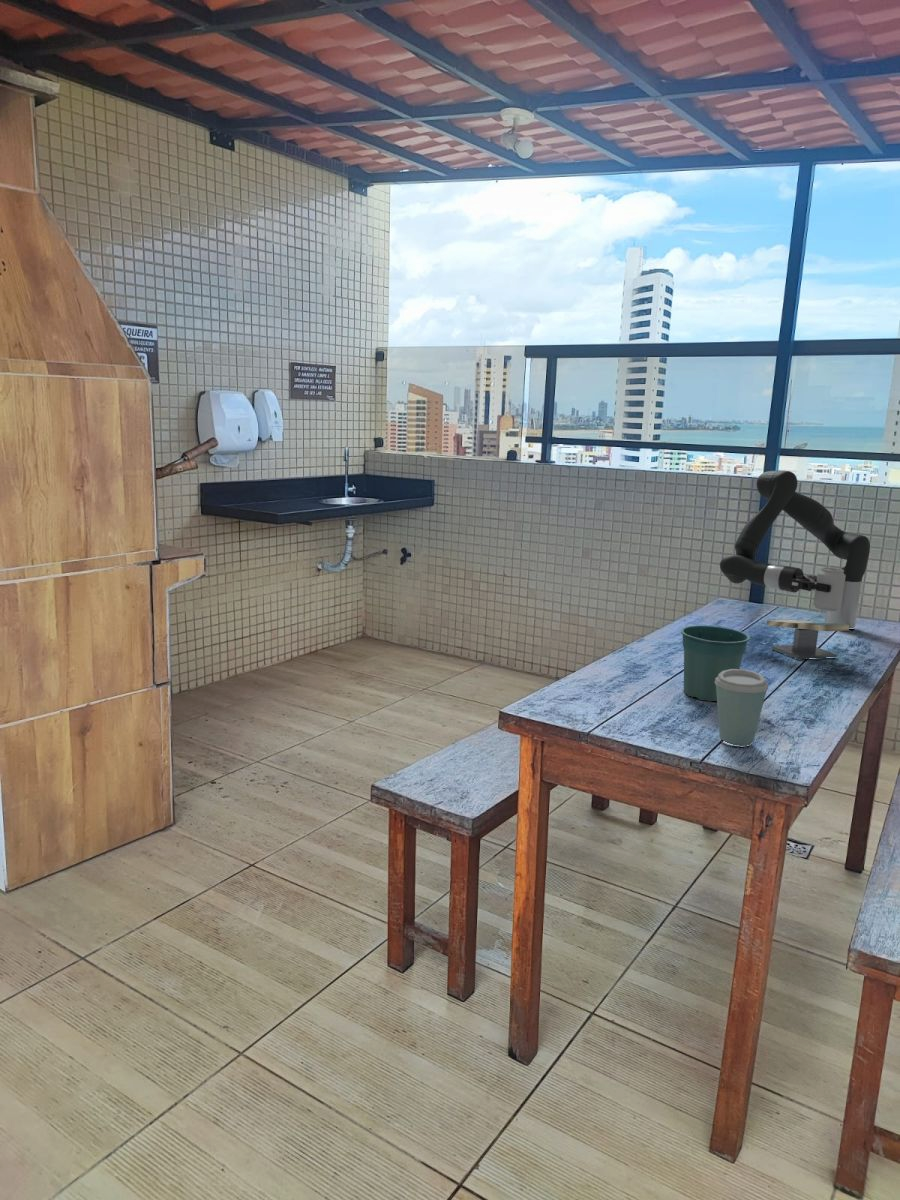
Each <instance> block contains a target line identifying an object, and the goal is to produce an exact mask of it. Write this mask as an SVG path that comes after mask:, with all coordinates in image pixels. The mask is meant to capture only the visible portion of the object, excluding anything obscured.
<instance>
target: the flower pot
mask: <svg viewBox="0 0 900 1200" xmlns="http://www.w3.org/2000/svg"><path fill="white" fill-rule="evenodd" d="M680 633H681V634H682V647H683V693H684V694H685V693H686V694H687V695H686V694H685V695H686V696H688V697H690V696H691V697H690V698H697V700H699V699H701V700H700V701H702V700H708V701H717V692H716V684H715V678H716V677H718V674H719V673H721V672H722V671H724V670H729V669H741V666H742V665H741V664H742V660H743V656H744V654H745V652H746V649H747V644H748V642H749V641H750V639H751V636H750V635H749V634H748V633H746V632H743V631H741V630H738V629H734V628H730V627H729V628H728V627H724V626H717V625H706V624H705V625H703V624H702V625H701V624H699V625H688V626H685V627H682V628H681V629H680ZM708 701H707V702H708Z"/></svg>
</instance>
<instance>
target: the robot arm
mask: <svg viewBox="0 0 900 1200" xmlns="http://www.w3.org/2000/svg"><path fill="white" fill-rule="evenodd" d="M797 488H798V478H797V476H796V474H795V473H794V472H793V471H790V470H768V471H765V472H762V473H760V475H759V476H758V477H757V480H756V489H757V491H758V493H759V495H760V496H761V497H762V498H763V499H765V500H767V502H766V504H765V505H764V506H763V507H762V509H760V510H759V512H757V513H756V514H754V516H753V517H752V518H750V519H749V521H747V522H746V524H745V525H744V527H742V529H741V531H740V533H739V536H738V537H737V540H735V541H736V542H735V543H734V550H735V554H728V555H726V556H724V557H723V558H721V560H720V561H719V569H720V571H721V573H722V574H723V575H724V576H725V578H727V580H729V582H731V583H733V584H737V585H738V584H742V583H743V582H744V581H746V580H747V581H748V582H750V583H752V584H754V585H757V586H762V587H768V588H771V589H773V590H779V591H785V592H789V593H794V594H795V593H798V592H799V591H801V590H803V591H807V592H812V591H813V592H815V591H822V592H831V585H828V584H823V583H818V582H816V581H817V575H811V574H807V575H804V571H803V569H802V568H800V567H795V566H794V567H793V566H790V565H789V566H788V565H782V564H771V563H765V562H760V561H756V560H755V559H756V553H757V551H758V550H759V548H760V546H761V544H762V543H763V540H764V538H765V536H766V534H767V532H768V531H769V530H770V528H771V527H772V525H773V523H774V522H775V521H776V519H777V518H778V517H779V515H780V514H781V513H782V511H784V512H785V513H786V514H787V515H788V516H789V517H790V518H792V519H793V520H794V521H796V523H797V524H799V525H800V526H801V527H802V528H804V530H806V531H808V532H809V533H810V534H812V536H813V537H815V538H816V539H818V540H819V541H820V542H821V543H822V544H824V545H825V547H826V548H827V549H828V550H829V551H830V552H831V554H833V555H834V556H836V558H839V559H842V560H846V562H845V566H844V567H842V568H841V569H842V570H844V572H843V573H844V574H845V576H846V577H845V583H844V590H843V596H842V602H841V608H840V609H838V610H837V611H826V610H825V615H824V616H825V617H824V622H827V623H839V624H847V625H849V628H854V627H855V628H856V623H857V618H858V617H857V616H858V609H859V603H860V597H861V589H862V583H863V582H862V581H863V577H864V575H865V573H866V570H867V566H868V561H869V558H870V557H869V555H870V550H871V543H870V540H869V538H868V537H867V536H865V535H862V534H856V533H851V532H847V531H844V530H842V529H840V528H839V527H838V526H836V525H835V523H834V518H833V517H834V516H833V514H832V512H830V511H829V510H828V509H827V508H826V507H825V506H824V505H823V504H822V503H820V502H819V501H818V500H816V499H813V498H811V497H809V496H807V495H804V494H802V493H799V492H796V491H797Z"/></svg>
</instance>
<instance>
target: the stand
mask: <svg viewBox="0 0 900 1200" xmlns="http://www.w3.org/2000/svg"><path fill="white" fill-rule="evenodd" d="M818 636H819V630H808V629H798V628H794V633H793V639H792V641H793V642H792V644H790V645H789V644H787V645H784V644H783V645H771V649H773V650H775V651H774V652H776V651H778V652H781V653H783V654H786V655H788V656H791V657H794V658H796V659H806V658H807V659H808V658H826V657H838V656H837V655H838V654H836V653H833V652H831V651H829V650H826V649H824V648H823V649H822V648H820V647H817V644H818ZM773 650H772V651H773ZM778 652H777V653H778ZM781 653H780V654H781ZM783 654H782V655H783ZM786 655H785V656H786ZM788 656H787V657H788ZM791 657H790V658H791ZM794 658H793V659H794ZM796 659H795V660H796Z"/></svg>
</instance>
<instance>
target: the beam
mask: <svg viewBox="0 0 900 1200" xmlns="http://www.w3.org/2000/svg"><path fill="white" fill-rule="evenodd" d="M766 626H767V627H779V628H790V629H808V630H819V631H821V632H822V631H823V632H842V631H845V632H846V631H850V630H849V625H847V624H839V623H827V622H825V621H823V622H816V621H805V620H794V619H793V620H791V619H775V620H773V619H770V620H766ZM819 631H818V632H819Z"/></svg>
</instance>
